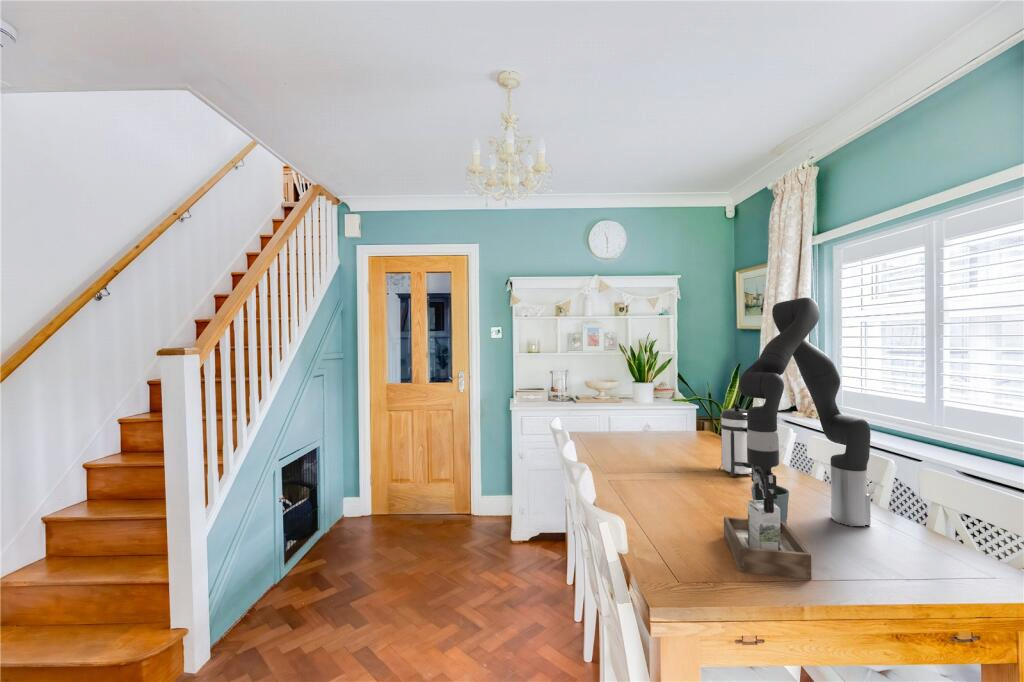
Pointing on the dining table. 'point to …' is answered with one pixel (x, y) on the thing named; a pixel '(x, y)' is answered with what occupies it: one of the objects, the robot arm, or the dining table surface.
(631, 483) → the dining table surface
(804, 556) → the brown wooden shallow tray
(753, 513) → the syrup box
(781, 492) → the blue-grey cup
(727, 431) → the coffee press
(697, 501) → the dining table surface
